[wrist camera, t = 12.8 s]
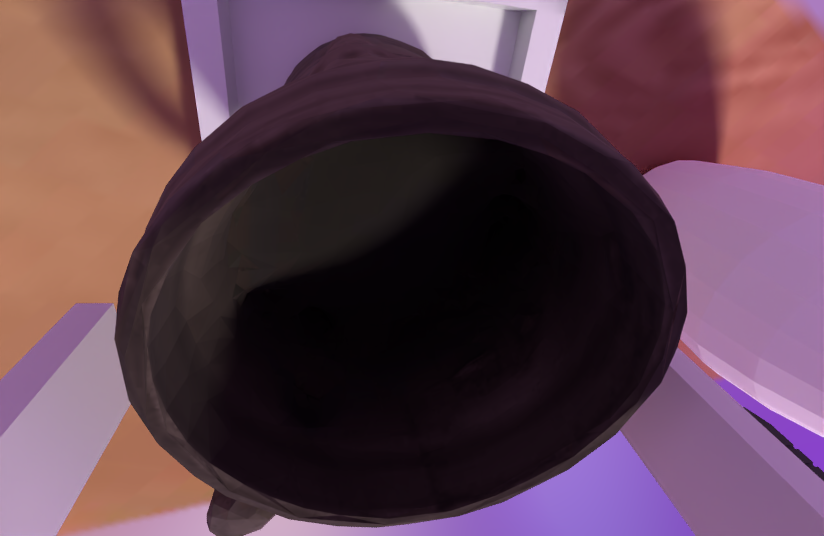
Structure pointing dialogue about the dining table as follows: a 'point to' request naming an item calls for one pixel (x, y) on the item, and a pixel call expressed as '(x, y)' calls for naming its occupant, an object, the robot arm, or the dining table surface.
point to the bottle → (753, 279)
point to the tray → (356, 13)
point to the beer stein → (396, 294)
